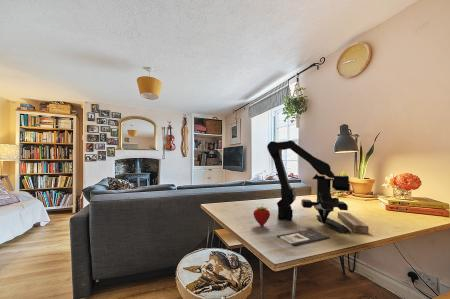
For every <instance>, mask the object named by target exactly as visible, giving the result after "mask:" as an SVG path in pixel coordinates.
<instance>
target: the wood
mask: <svg viewBox="0 0 450 299" xmlns="http://www.w3.org/2000/svg"><path fill="white" fill-rule="evenodd" d="M315 217H316V218H318V220H319V221H320V222H321V223H322V221H321V218H320V215H319V214H316V215H315ZM324 225H326V226H328V227H329V228H330V229H332V230H334V231H335V232H338V233H339V234H340V235H341V234H342V235H345V234H352V233H351V229H350V228H348V227H347V226H346V225H345V224H343V223H340V222H338V221H336V220H334V219H331V218H330V217H327V219H326V221H325V224H324Z"/></svg>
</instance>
